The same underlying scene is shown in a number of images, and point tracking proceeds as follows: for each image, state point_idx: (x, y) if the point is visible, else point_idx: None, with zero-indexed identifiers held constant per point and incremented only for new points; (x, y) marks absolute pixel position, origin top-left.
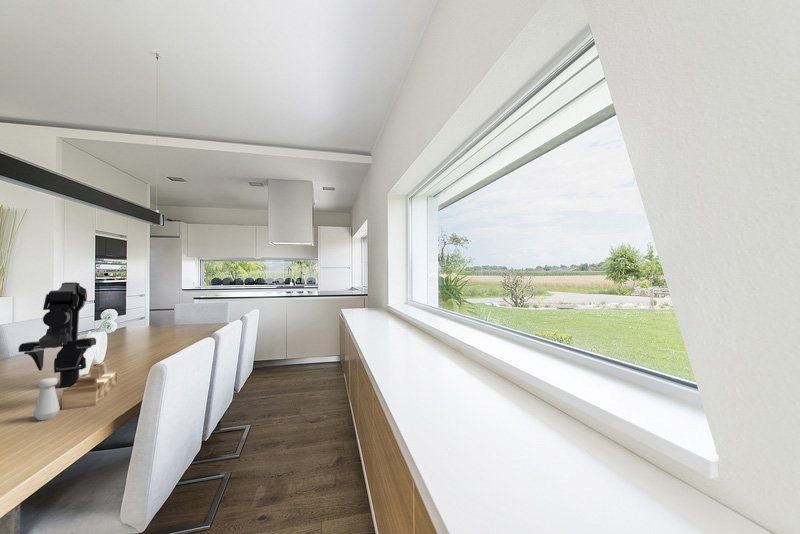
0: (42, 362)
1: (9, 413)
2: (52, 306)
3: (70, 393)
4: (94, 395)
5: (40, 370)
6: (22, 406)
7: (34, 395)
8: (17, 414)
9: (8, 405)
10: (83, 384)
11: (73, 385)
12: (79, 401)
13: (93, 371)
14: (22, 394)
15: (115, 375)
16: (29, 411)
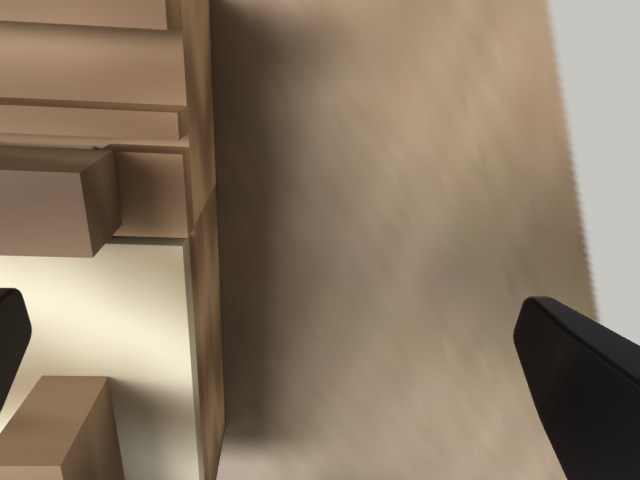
0: (583, 468)
1: (547, 98)
2: None
3: None
4: None
5: (526, 302)
6: (503, 221)
7: (488, 406)
8: (493, 42)
9: (583, 279)
10: (33, 150)
11: (174, 229)
12: None
13: (49, 437)
14: (551, 445)
15: None
16: (433, 78)
